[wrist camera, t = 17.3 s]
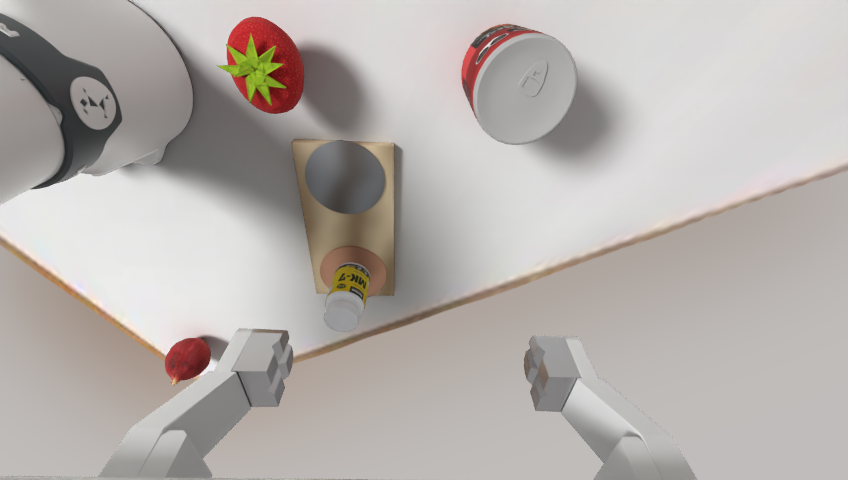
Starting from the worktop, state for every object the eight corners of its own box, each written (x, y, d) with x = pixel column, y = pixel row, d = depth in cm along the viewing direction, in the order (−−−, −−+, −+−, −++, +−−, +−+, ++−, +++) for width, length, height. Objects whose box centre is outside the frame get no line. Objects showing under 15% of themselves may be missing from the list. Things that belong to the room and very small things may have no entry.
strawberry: (269, 101, 37) (227, 131, 29) (243, 17, 33) (184, 24, 25) (325, 96, 37) (298, 125, 29) (306, 10, 33) (267, 15, 25)
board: (319, 290, 52) (316, 297, 51) (293, 134, 39) (289, 139, 38) (394, 292, 53) (393, 299, 51) (394, 138, 40) (393, 143, 38)
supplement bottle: (374, 267, 48) (366, 312, 41) (364, 291, 50) (355, 338, 43) (339, 256, 47) (325, 301, 40) (331, 281, 49) (316, 328, 42)
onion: (175, 327, 56) (143, 371, 50) (211, 326, 56) (183, 370, 50) (190, 351, 60) (161, 395, 53) (224, 350, 60) (200, 394, 53)
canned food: (549, 30, 34) (596, 42, 25) (523, 115, 38) (555, 152, 29) (470, 16, 33) (488, 24, 24) (453, 104, 38) (464, 139, 29)
